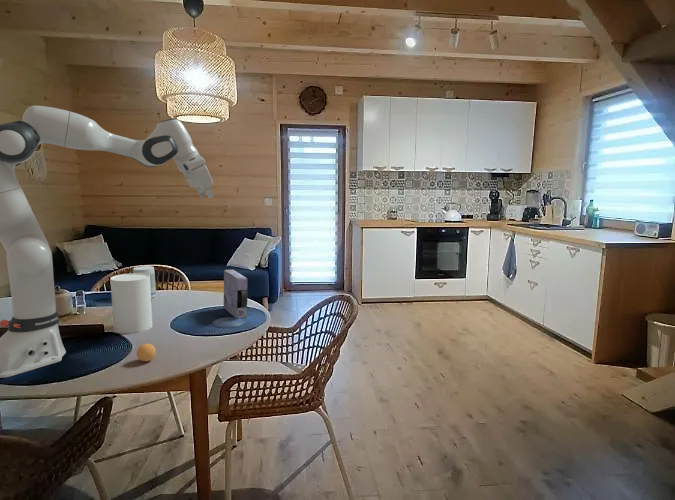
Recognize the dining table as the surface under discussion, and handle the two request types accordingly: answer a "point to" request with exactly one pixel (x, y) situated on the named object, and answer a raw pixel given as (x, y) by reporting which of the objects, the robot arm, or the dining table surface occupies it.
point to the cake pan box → (235, 293)
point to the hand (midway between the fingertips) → (207, 197)
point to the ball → (146, 352)
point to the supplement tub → (151, 272)
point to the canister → (131, 302)
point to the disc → (228, 322)
